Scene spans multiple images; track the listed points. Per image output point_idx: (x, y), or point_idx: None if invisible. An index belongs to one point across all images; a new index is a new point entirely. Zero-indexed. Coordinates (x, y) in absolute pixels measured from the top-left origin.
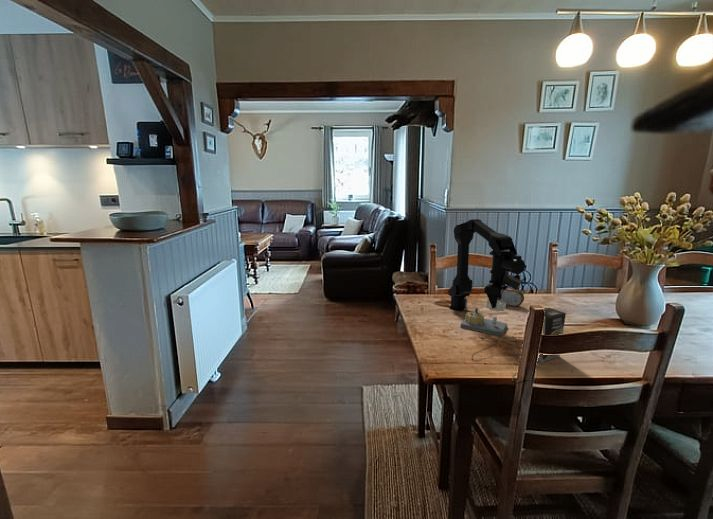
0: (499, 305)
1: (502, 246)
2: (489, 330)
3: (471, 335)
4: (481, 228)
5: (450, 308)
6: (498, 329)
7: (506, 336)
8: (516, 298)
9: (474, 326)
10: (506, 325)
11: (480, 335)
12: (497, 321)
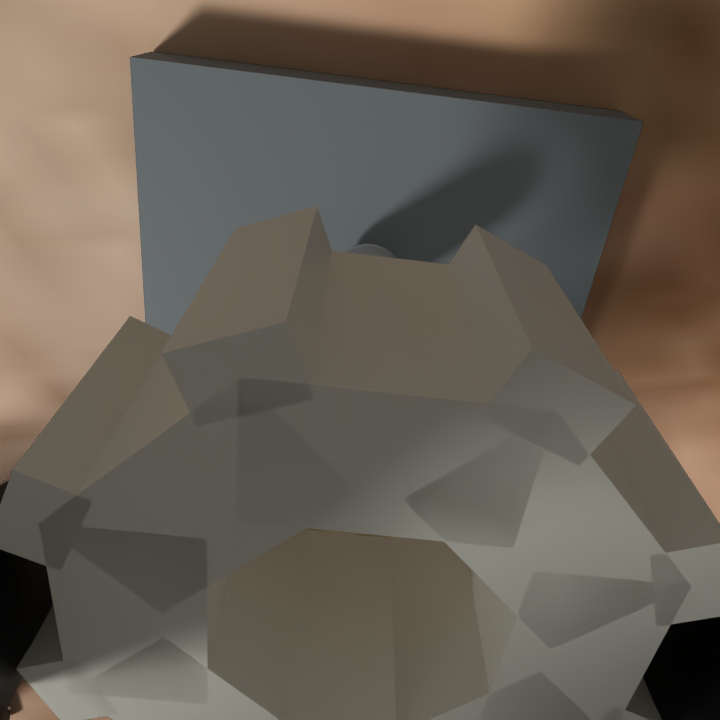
0: (626, 490)
1: None
2: (581, 305)
3: (694, 461)
4: None
5: (7, 715)
6: (511, 183)
7: (600, 18)
8: None
9: None
10: (199, 63)
11: (667, 375)
12: (146, 235)
